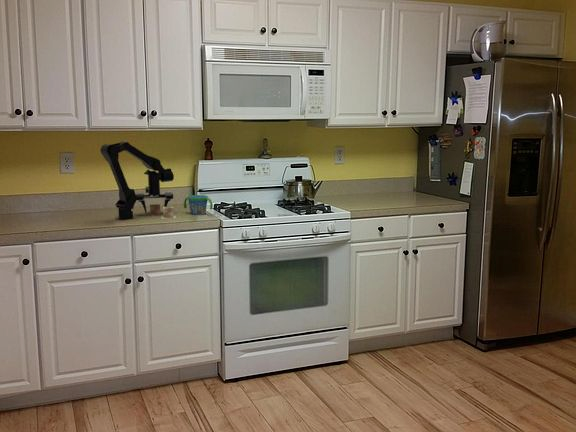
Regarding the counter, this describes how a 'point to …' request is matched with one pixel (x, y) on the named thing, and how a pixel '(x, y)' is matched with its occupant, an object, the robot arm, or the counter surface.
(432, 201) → the counter surface
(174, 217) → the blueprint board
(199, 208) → the snack cup
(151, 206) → the walnut block
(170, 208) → the birch block
